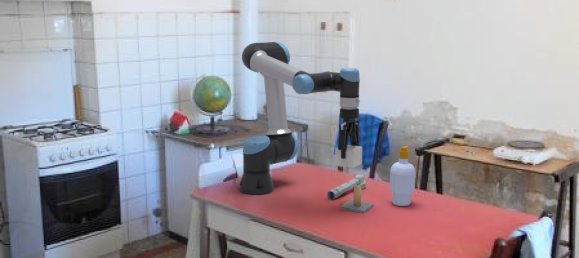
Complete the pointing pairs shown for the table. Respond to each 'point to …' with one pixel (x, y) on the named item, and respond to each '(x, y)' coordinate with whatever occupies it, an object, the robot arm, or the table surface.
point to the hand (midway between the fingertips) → (348, 164)
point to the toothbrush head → (346, 187)
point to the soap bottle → (402, 179)
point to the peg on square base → (357, 202)
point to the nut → (350, 156)
